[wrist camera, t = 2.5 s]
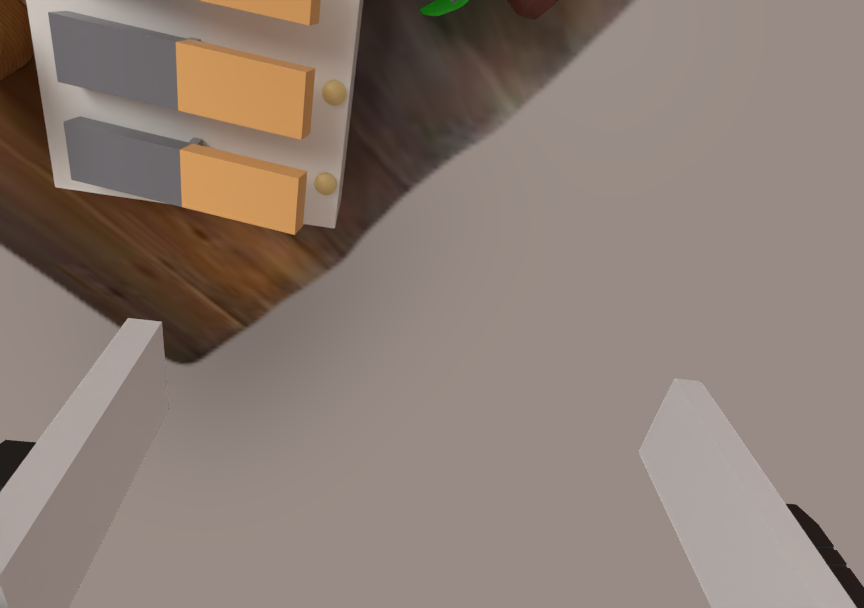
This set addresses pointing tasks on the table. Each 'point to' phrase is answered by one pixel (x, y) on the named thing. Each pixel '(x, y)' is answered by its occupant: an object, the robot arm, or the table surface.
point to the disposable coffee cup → (14, 37)
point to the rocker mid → (183, 74)
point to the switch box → (227, 27)
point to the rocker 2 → (278, 9)
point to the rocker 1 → (186, 174)
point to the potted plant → (526, 3)
